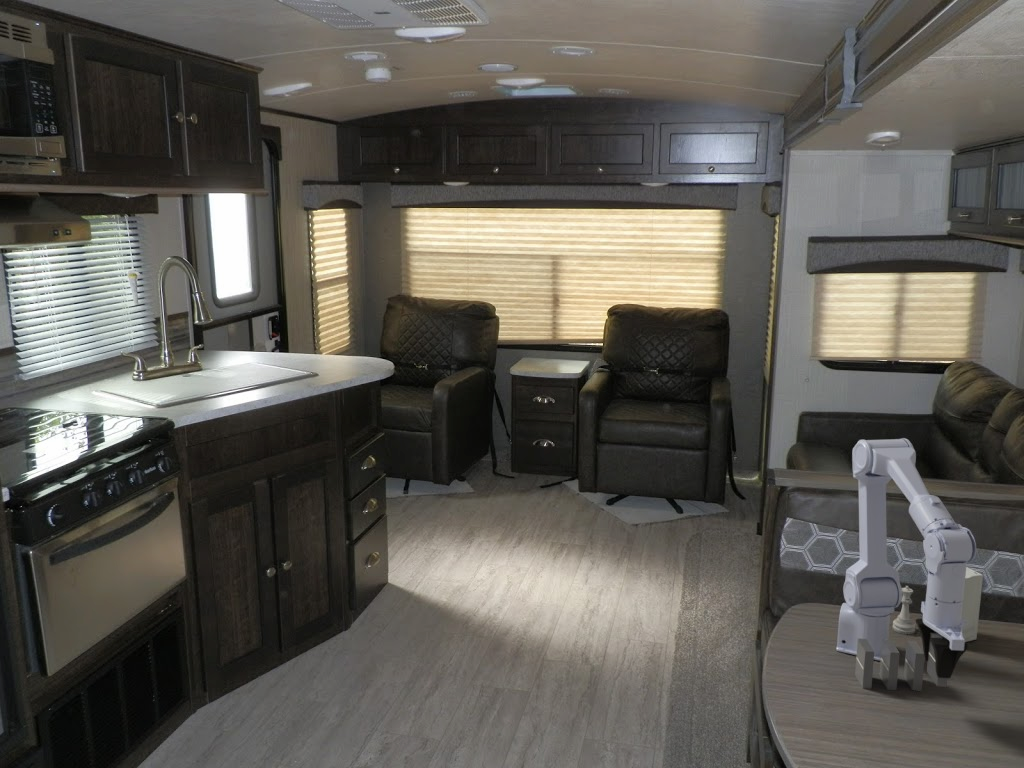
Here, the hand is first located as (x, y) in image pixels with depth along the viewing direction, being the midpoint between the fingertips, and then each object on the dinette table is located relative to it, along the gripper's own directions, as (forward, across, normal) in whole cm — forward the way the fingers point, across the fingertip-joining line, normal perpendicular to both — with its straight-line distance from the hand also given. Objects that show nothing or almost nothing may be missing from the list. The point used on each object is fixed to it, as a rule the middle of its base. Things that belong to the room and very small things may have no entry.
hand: (937, 668), depth 154 cm
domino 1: (+9, +10, +9) cm, 16 cm away
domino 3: (+9, +10, 0) cm, 14 cm away
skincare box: (+9, +30, -14) cm, 34 cm away
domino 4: (+2, 0, 0) cm, 2 cm away
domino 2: (+9, +10, +5) cm, 14 cm away
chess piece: (+9, +33, -5) cm, 34 cm away
